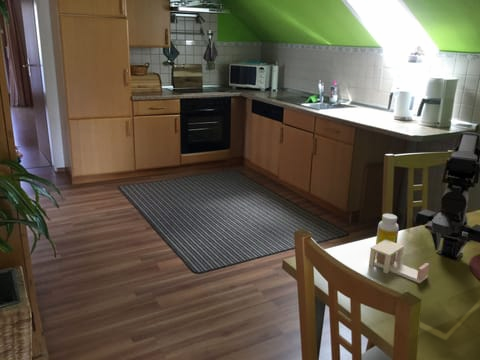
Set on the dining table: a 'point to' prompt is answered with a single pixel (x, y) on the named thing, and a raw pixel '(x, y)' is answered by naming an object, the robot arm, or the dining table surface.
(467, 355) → the dining table surface
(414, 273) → the sled
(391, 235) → the supplement bottle
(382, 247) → the small table
